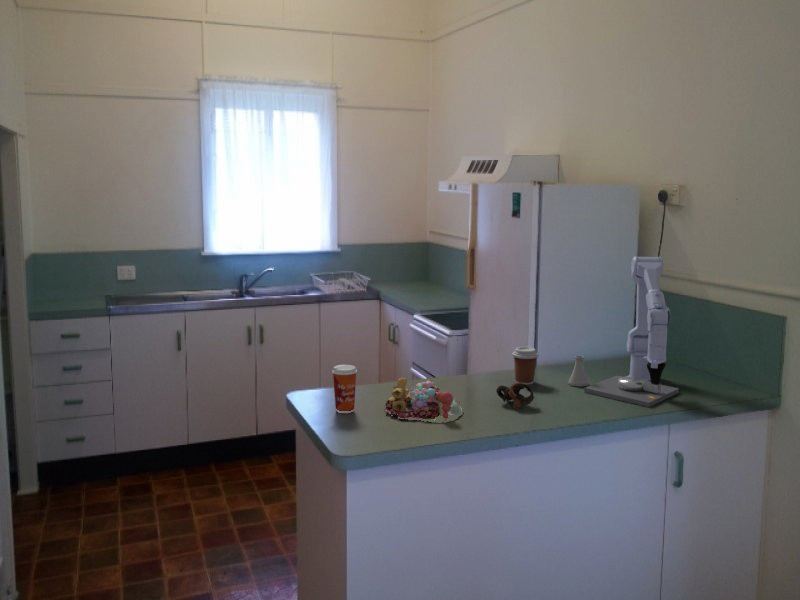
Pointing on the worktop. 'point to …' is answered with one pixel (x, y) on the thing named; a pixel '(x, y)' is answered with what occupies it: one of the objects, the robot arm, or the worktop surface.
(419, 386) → the candy landscape model
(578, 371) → the flask
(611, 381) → the base plate
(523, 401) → the brown pretzel
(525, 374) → the coffee cup
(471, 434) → the worktop surface
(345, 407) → the paper cup
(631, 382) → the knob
